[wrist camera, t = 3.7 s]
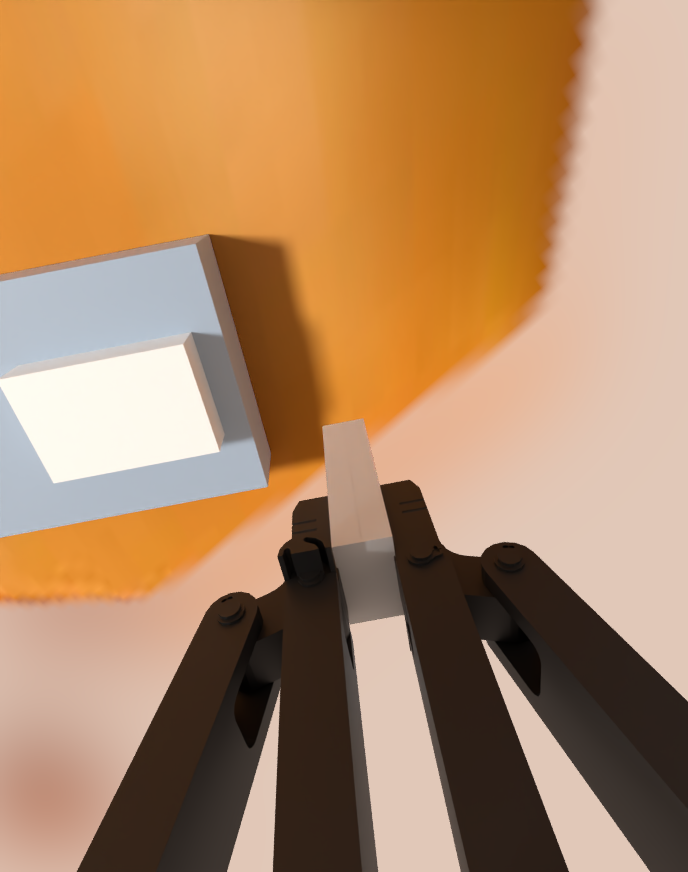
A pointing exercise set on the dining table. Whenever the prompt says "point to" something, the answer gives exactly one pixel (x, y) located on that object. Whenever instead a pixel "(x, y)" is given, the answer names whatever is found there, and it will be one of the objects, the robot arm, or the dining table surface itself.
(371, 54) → the dining table surface
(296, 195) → the dining table surface
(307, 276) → the dining table surface
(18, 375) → the white rectangular block
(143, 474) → the block
